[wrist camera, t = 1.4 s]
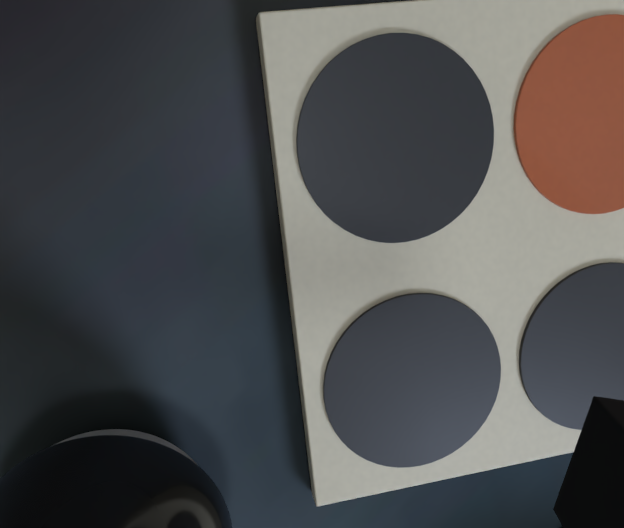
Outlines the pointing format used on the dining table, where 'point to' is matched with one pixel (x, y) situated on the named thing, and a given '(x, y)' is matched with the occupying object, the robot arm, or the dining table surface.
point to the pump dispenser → (111, 486)
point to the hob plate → (448, 230)
